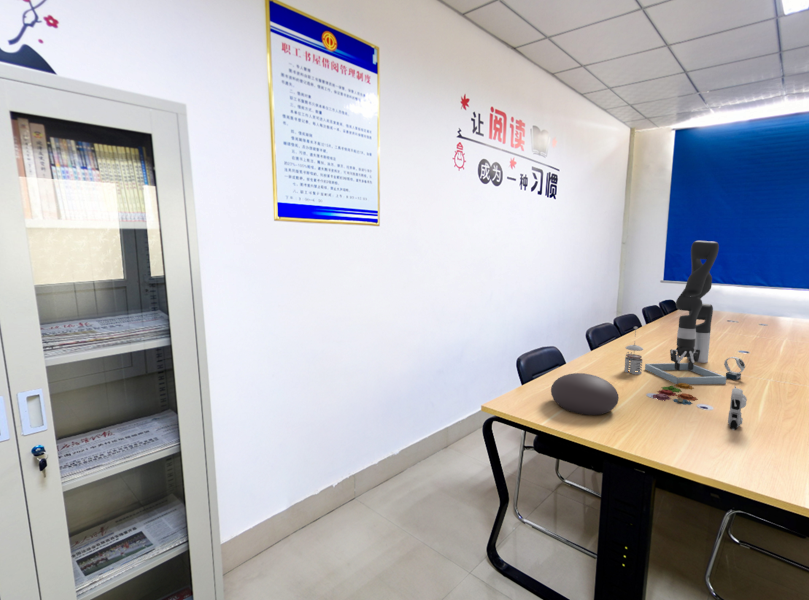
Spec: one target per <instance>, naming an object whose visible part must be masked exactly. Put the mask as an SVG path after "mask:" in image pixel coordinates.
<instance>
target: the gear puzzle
mask: <svg viewBox="0 0 809 600" xmlns="http://www.w3.org/2000/svg"><path fill="white" fill-rule="evenodd" d="M660 389H661V390H658V391H656V392H657V394H653V395H652V396H653V397H652V399H654V398H657V399H658V400H657V399H656V400H657V401H663V400H664V401H663V402H666V400H667V401H670V400H672V402H673V403H676V404H679V405H684V406H691V405H693V404H694V403H693V401H694V402H696V401H697V400H698V401H699V399H698V398H697V397H696V396H694V395H693V394H690V393H687V392H683V391H682V390H681V389H683V390H693V389H695V388H694V387H693V385H691V384H686V383H679V384H675V383H674V385H669V386H662V387H660ZM680 392H682V393H680ZM676 393H679V394H676ZM671 397H676V398H673V399H672V398H671Z"/></svg>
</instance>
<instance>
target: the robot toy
mask: <svg viewBox="0 0 809 600" xmlns="http://www.w3.org/2000/svg"><path fill="white" fill-rule="evenodd" d="M730 396H731V397H730V404H729V411H728V417H727V424H728V425H729V428H730V429H731V431H735V430H737V429H738V428H739V427H740V426H741V425H743V421H744V420H743V417H742V415H743V413H742V409H743V408H745V407H746V406H747V400H748V398H747V396H746V395H745V394H744V390H743V389H741V388H737V386H736V385H734V388H732V389H731V395H730Z"/></svg>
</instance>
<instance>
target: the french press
mask: <svg viewBox="0 0 809 600" xmlns="http://www.w3.org/2000/svg"><path fill="white" fill-rule="evenodd" d="M633 329H634V330H635V332H634V336H636V335H637V334H636V332H637V330H638V329H639V327H638V326H633ZM625 349H626V350H629V351H633V352H637V351H638V352H641V351H643V350H644V348H643V347H642V346H640V345H637V344H636V342H634V344H629V345H627V346H625ZM629 351H627V352H626V354H625V357H624V370H623V371H624V372H625V373H626V372H627V373H626V374H630V373H632V374H631V375H641V374H642V371H643V369H642V368H643V358H642V355H640V354H635V353H633V352H629ZM628 370H630V372H628ZM635 371H638V372H635Z"/></svg>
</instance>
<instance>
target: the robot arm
mask: <svg viewBox="0 0 809 600" xmlns="http://www.w3.org/2000/svg"><path fill="white" fill-rule="evenodd" d="M719 247H720V245H719V243H718V242H717V241H707V240H695V241H693V243H692V244H691V248H690V259H691V273H690V275H689V277H688V278H687V281H686V285H685V288H683V291H682V292H681V293H680V295H679V296H678V297H677V299H676V301H675V306H676V309H678V311H682V312H683V311H685V312H688V314H686V315H680V316H679V318H678V328H677V333H676V334H677V336H676V348H675V349H672V348H671V349H670V350H669V353H670V355H669V356H670V361H671V362H672V363H673V362H674V363H675V367H674V368H675V370H674V371H681V370H680V363H681V362H682V360H683V359H684V358H686V359H687V360H688V361H687V363H688V369H689V370H688V371H690V370H692V369H693V365H695V364H694V363H701V364H702V363H704V364H706V363H708V362H709V356H710V355H709V353H710V351H709V350H710V343H711V342H710V340H711V332H712V331H711V328H712V318H713V313H714V307H713V305H712V304H710V303H703V300H702V298H703V297H704V296H705V295H707V294H708V293H710V290H711V289H712V287H713V286H712V284H713V276H712V275H711V273H710V272H711V269H712V267H713V265H714V263H715V261H716V259H717V257H718V254H719V249H720V248H719ZM702 260H705V262H704V263H702ZM697 320H698V321H703V322H702V323H699V324H697Z"/></svg>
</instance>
